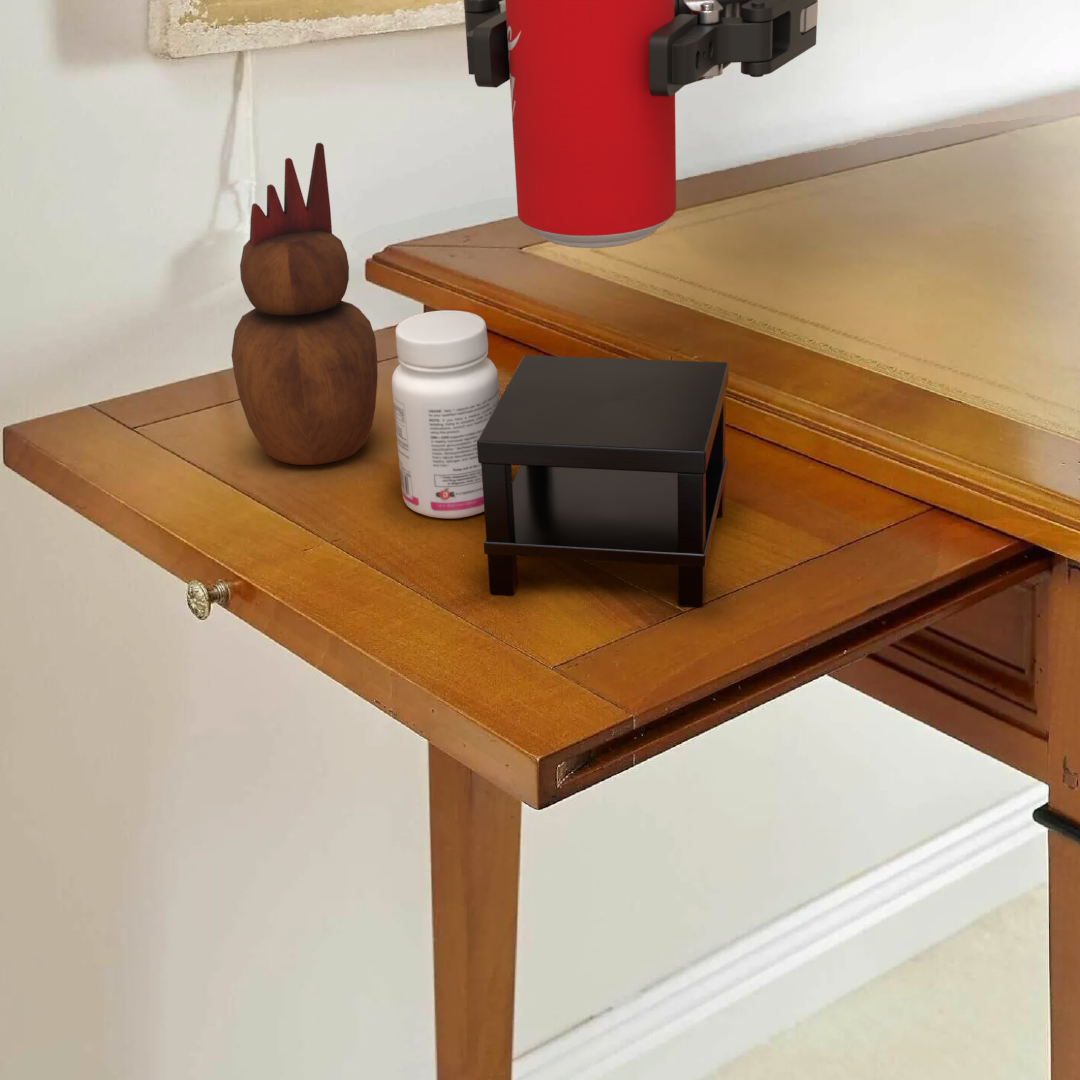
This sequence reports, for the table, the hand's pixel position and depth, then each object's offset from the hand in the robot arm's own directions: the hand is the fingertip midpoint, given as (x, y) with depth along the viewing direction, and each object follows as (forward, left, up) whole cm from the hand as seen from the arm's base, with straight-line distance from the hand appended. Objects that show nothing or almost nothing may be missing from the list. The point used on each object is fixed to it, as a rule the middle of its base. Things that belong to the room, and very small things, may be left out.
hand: (569, 63), depth 59 cm
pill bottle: (+7, -6, -21) cm, 23 cm away
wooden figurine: (+15, -10, -21) cm, 28 cm away
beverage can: (0, -2, -7) cm, 8 cm away
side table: (-1, -2, -21) cm, 21 cm away
